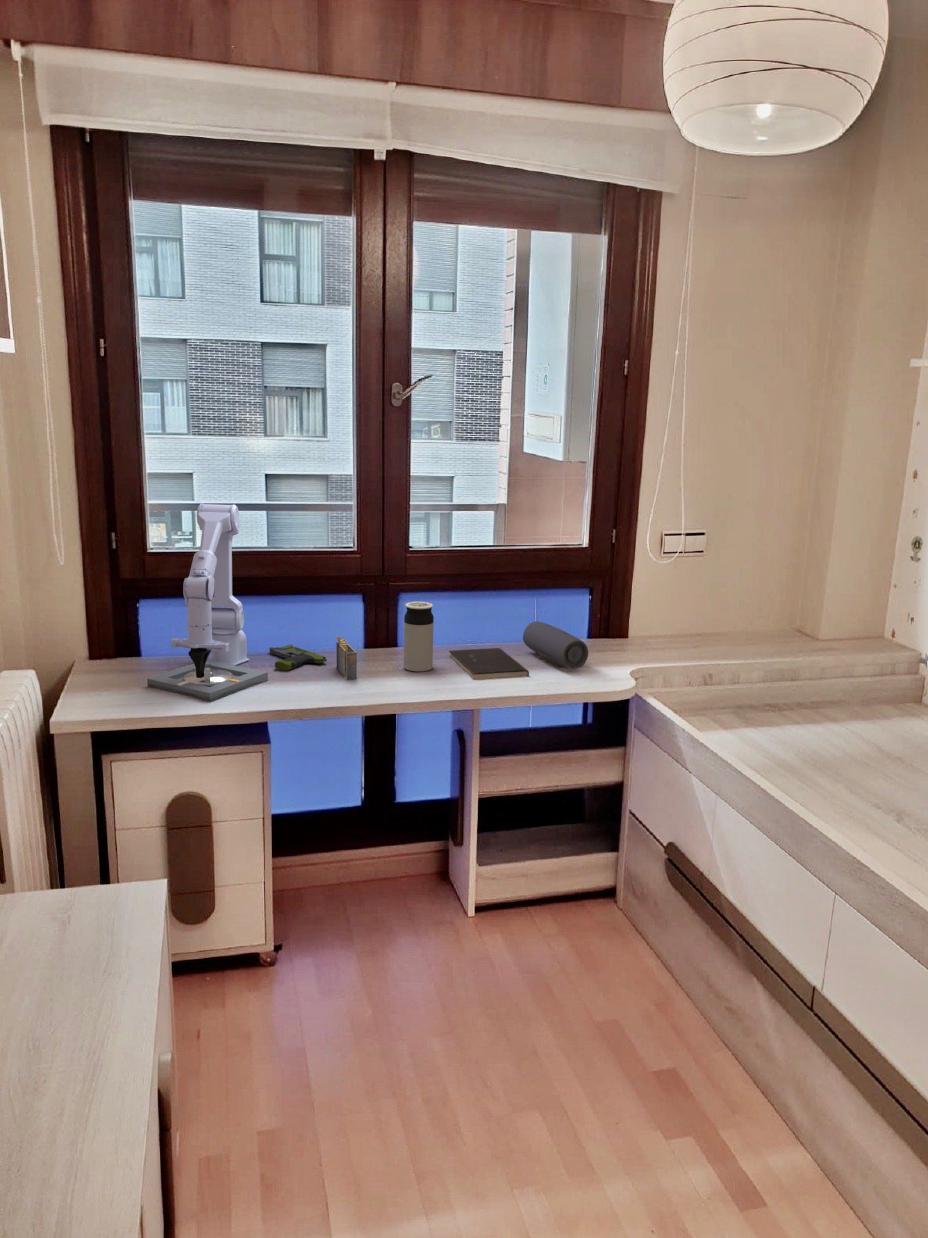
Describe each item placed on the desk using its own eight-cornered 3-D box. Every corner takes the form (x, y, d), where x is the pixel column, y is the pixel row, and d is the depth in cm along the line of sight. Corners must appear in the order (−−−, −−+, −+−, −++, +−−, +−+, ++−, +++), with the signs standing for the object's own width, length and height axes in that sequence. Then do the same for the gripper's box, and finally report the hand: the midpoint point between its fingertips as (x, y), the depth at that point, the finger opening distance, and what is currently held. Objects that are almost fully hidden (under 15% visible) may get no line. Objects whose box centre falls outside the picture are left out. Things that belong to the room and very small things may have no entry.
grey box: (334, 669, 259) (334, 635, 257) (345, 668, 260) (345, 634, 258) (345, 681, 249) (345, 645, 247) (356, 680, 250) (356, 644, 248)
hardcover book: (472, 681, 252) (472, 673, 252) (448, 658, 274) (449, 650, 273) (528, 678, 257) (529, 669, 256) (501, 655, 278) (501, 647, 278)
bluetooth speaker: (589, 671, 263) (591, 637, 261) (560, 675, 259) (562, 639, 257) (547, 650, 283) (549, 618, 280) (520, 653, 279) (521, 620, 276)
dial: (185, 673, 246) (184, 657, 245) (232, 671, 249) (232, 655, 248) (182, 687, 235) (181, 670, 234) (232, 685, 237) (231, 669, 236)
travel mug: (432, 672, 257) (433, 608, 253) (402, 671, 257) (403, 607, 253) (432, 664, 265) (434, 601, 261) (404, 663, 265) (405, 600, 261)
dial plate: (206, 667, 256) (206, 658, 255) (267, 680, 246) (267, 671, 246) (147, 686, 238) (146, 677, 237) (210, 702, 228) (210, 692, 228)
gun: (246, 659, 266) (291, 650, 276) (285, 673, 253) (330, 663, 263) (246, 650, 265) (290, 642, 275) (285, 664, 252) (330, 655, 262)
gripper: (164, 625, 231) (166, 678, 234) (220, 630, 228) (221, 684, 232) (178, 618, 238) (180, 670, 241) (232, 623, 235) (233, 676, 238)
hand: (201, 677), depth 237 cm, fingers closed, pressing on dial
